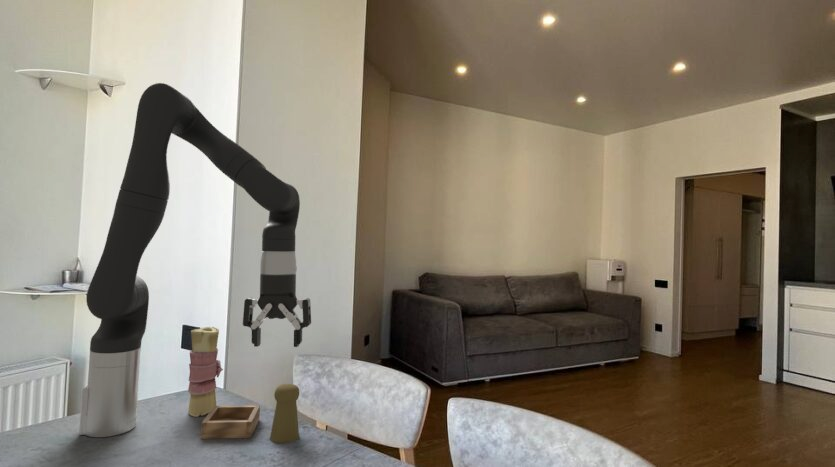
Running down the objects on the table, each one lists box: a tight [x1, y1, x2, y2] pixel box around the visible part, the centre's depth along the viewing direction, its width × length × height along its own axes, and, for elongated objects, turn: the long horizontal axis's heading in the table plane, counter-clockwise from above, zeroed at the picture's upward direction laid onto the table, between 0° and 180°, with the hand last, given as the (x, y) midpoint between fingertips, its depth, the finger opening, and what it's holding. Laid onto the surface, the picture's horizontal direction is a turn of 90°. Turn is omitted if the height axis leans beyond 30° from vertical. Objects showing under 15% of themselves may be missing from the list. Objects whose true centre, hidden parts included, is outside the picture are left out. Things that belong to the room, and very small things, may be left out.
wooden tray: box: [200, 404, 261, 440], centre depth 99 cm, size 10×10×3 cm
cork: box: [269, 383, 300, 444], centre depth 97 cm, size 6×6×11 cm
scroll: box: [187, 326, 224, 418], centre depth 109 cm, size 8×8×20 cm
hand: (277, 346), depth 98 cm, fingers open, 8 cm apart
